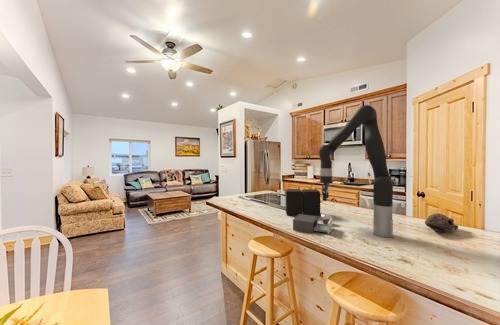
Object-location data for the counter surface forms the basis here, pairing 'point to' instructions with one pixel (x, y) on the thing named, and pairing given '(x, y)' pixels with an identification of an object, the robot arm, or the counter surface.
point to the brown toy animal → (440, 222)
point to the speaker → (302, 202)
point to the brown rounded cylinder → (325, 221)
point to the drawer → (324, 227)
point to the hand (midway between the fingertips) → (325, 199)
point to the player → (305, 223)
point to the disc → (326, 216)
